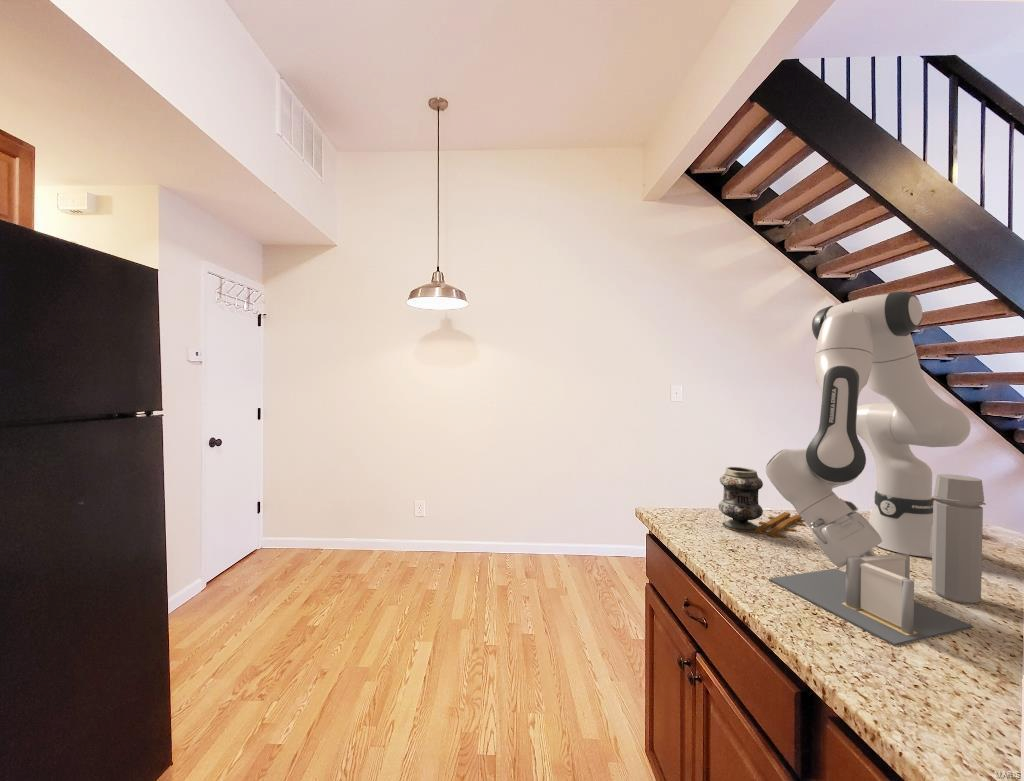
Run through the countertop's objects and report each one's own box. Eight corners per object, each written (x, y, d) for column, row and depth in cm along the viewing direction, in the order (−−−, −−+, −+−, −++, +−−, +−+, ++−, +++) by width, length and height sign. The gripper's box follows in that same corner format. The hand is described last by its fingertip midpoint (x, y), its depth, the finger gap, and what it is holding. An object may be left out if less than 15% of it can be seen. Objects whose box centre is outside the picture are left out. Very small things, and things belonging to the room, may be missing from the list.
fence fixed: (851, 604, 86) (852, 554, 86) (917, 635, 75) (918, 579, 75) (842, 605, 86) (843, 556, 85) (907, 638, 75) (908, 581, 75)
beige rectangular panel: (911, 599, 86) (912, 556, 86) (864, 605, 84) (865, 560, 84) (902, 595, 88) (903, 553, 88) (856, 601, 86) (857, 557, 86)
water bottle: (986, 610, 84) (988, 483, 83) (930, 597, 89) (932, 477, 89) (980, 593, 91) (982, 475, 90) (928, 581, 96) (930, 470, 95)
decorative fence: (745, 532, 129) (783, 542, 122) (745, 526, 129) (783, 535, 122) (776, 516, 145) (811, 523, 138) (776, 510, 145) (811, 517, 138)
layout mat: (835, 569, 102) (835, 567, 102) (973, 627, 78) (973, 624, 78) (768, 580, 97) (768, 578, 97) (894, 646, 72) (894, 643, 72)
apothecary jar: (770, 528, 131) (771, 470, 130) (749, 536, 124) (750, 474, 124) (731, 518, 141) (732, 463, 141) (710, 525, 134) (711, 467, 134)
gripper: (820, 516, 88) (879, 582, 80) (855, 501, 100) (910, 557, 92) (795, 531, 92) (850, 595, 84) (832, 515, 104) (882, 570, 96)
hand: (881, 575), depth 88 cm, fingers closed
